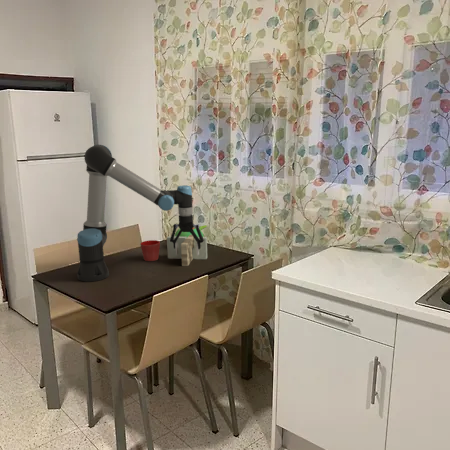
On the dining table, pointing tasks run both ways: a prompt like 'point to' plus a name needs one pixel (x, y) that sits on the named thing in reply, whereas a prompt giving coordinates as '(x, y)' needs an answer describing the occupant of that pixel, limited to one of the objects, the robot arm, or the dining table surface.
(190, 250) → the birch slotted plate
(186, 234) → the green rounded piece
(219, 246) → the dining table surface
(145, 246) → the flower pot
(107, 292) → the dining table surface
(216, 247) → the dining table surface
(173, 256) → the sage slotted rail
